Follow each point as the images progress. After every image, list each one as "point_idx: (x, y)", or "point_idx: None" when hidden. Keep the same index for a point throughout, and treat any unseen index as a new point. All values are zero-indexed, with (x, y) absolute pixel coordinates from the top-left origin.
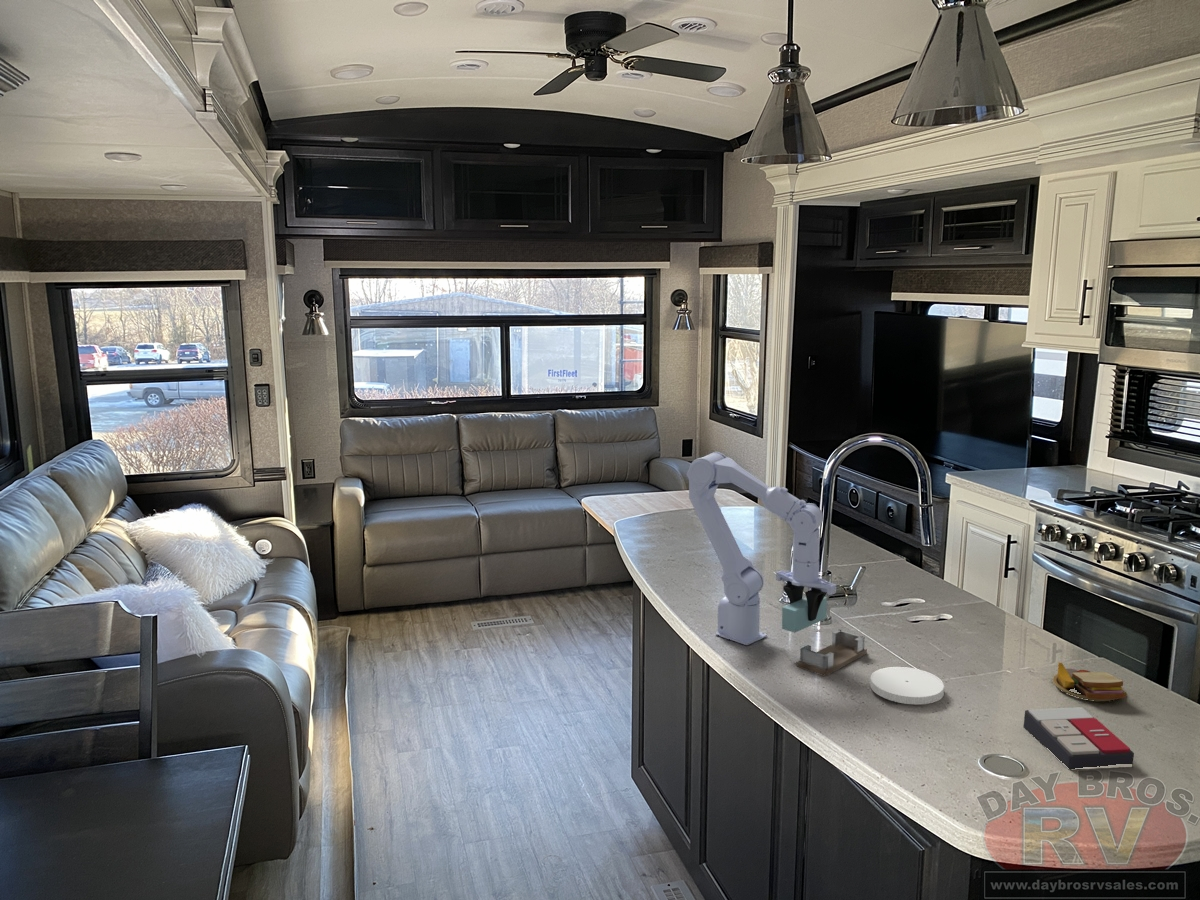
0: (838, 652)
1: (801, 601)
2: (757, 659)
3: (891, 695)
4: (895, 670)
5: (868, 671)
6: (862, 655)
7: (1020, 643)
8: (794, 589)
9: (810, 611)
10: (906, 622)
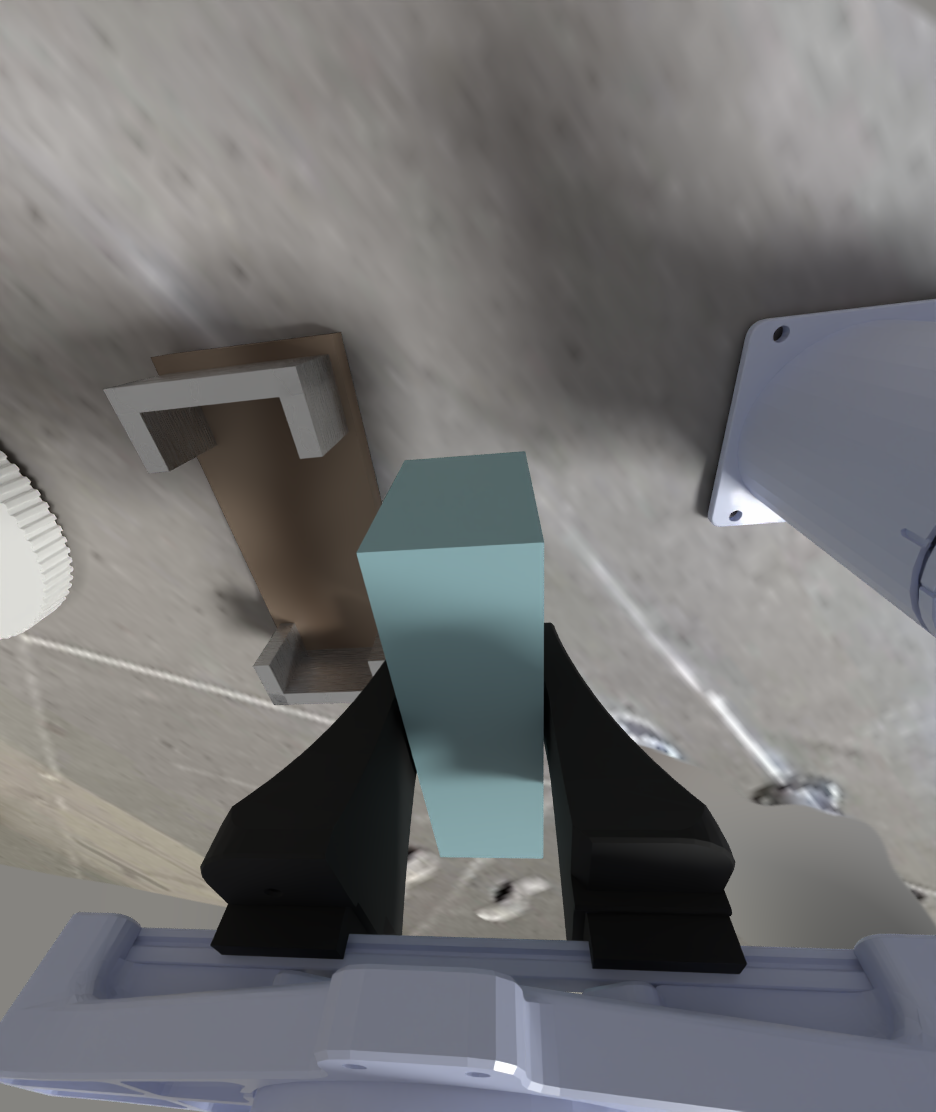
0: (324, 582)
1: (509, 746)
2: (571, 198)
3: None
4: (4, 576)
5: (157, 547)
6: None
7: (190, 868)
8: (568, 854)
9: (377, 678)
10: (417, 841)
